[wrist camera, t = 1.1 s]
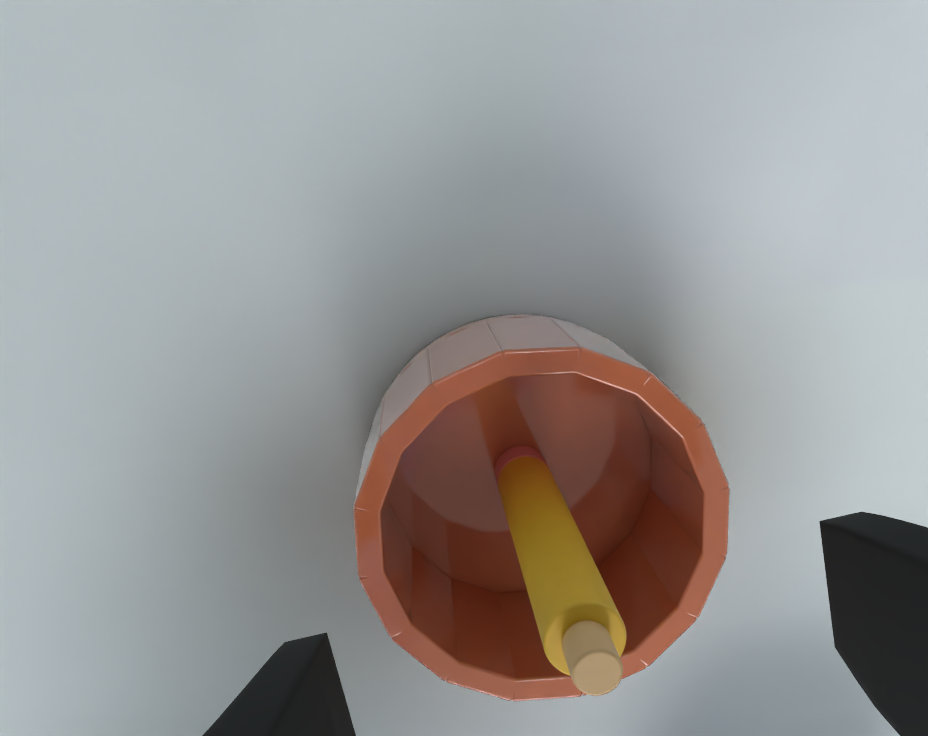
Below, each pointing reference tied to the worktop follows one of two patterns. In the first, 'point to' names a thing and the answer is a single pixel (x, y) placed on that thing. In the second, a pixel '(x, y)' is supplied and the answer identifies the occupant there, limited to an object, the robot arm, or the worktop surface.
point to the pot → (578, 478)
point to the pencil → (560, 575)
